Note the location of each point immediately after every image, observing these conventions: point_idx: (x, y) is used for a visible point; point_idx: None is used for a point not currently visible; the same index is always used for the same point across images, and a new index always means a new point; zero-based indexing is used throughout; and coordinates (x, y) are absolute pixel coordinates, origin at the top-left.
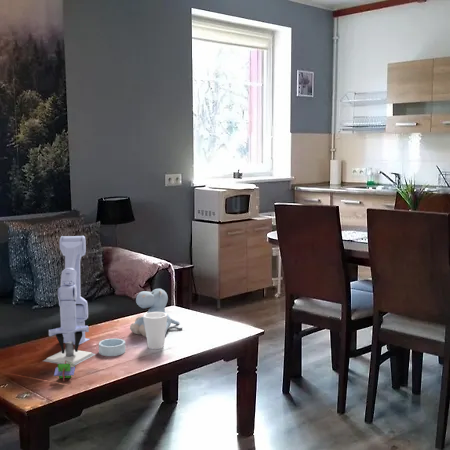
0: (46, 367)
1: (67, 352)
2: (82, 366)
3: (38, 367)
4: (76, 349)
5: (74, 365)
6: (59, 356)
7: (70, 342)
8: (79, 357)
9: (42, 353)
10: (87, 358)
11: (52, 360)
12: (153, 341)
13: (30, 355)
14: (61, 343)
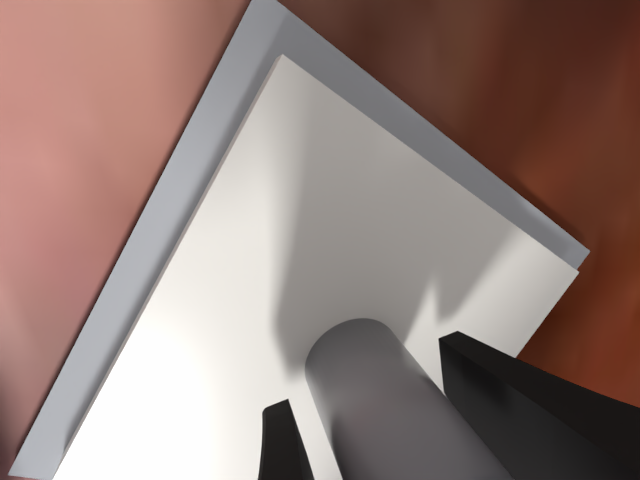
0: (573, 73)
1: (402, 353)
2: (98, 5)
3: (637, 90)
4: (281, 427)
5: (243, 23)
6: (461, 325)
7: None
8: (210, 294)
9: None
10: (94, 319)
11: (523, 234)
12: None
13: (628, 384)
14: (636, 430)
